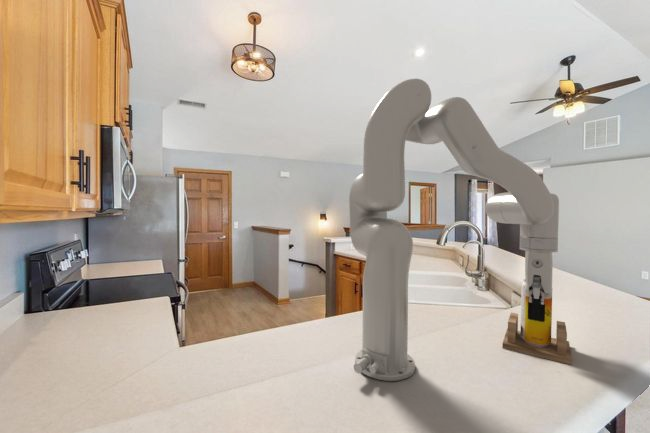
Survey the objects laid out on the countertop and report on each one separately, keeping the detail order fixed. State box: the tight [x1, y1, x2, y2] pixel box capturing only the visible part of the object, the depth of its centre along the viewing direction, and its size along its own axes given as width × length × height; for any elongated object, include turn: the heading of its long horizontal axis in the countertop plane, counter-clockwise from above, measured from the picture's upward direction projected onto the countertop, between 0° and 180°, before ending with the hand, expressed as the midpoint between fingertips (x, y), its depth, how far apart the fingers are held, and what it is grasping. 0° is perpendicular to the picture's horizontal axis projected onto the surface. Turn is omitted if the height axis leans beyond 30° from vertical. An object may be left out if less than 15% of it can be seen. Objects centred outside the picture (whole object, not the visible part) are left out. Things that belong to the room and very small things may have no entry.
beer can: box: [520, 278, 553, 347], centre depth 72 cm, size 6×6×15 cm
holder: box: [501, 312, 573, 366], centre depth 72 cm, size 11×13×6 cm
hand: (536, 314), depth 72 cm, fingers open, 9 cm apart
